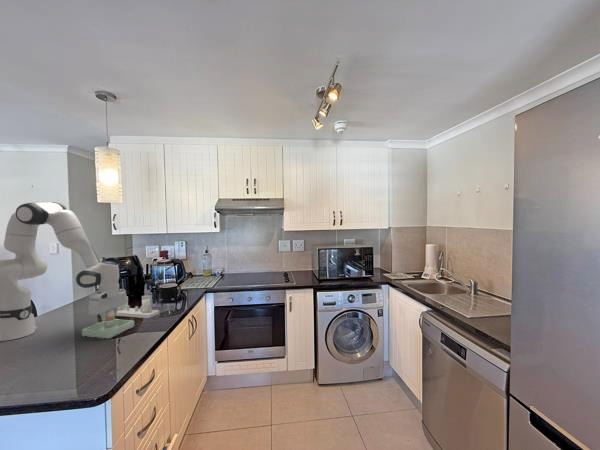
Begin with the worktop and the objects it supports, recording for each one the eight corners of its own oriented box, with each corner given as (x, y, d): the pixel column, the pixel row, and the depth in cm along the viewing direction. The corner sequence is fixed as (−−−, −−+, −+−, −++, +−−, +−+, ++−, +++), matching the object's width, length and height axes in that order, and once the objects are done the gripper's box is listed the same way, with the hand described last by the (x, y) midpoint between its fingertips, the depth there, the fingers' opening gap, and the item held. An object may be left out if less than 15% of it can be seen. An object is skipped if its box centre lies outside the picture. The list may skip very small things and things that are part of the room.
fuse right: (139, 312, 167) (140, 296, 167) (145, 310, 172) (145, 294, 172) (146, 313, 167) (146, 297, 166) (151, 311, 171) (151, 295, 171)
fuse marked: (102, 328, 142) (101, 309, 142) (109, 325, 146) (109, 306, 146) (109, 328, 141) (109, 309, 141) (117, 325, 145) (116, 306, 146)
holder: (104, 314, 170) (104, 306, 170) (116, 310, 179) (116, 302, 179) (149, 318, 164) (149, 310, 164) (159, 313, 173) (159, 305, 172)
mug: (161, 298, 206) (161, 283, 206) (183, 298, 208) (183, 282, 208) (152, 305, 190) (152, 288, 190) (176, 304, 192) (176, 287, 192)
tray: (82, 336, 137) (82, 329, 137) (109, 324, 153) (109, 318, 153) (108, 339, 134) (108, 331, 134) (134, 326, 150) (134, 320, 150)
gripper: (120, 287, 154) (120, 311, 154) (85, 296, 134) (85, 324, 134) (130, 287, 153) (130, 312, 153) (96, 297, 133) (96, 325, 133)
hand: (109, 318), depth 144 cm, fingers closed on fuse marked, 4 cm apart
